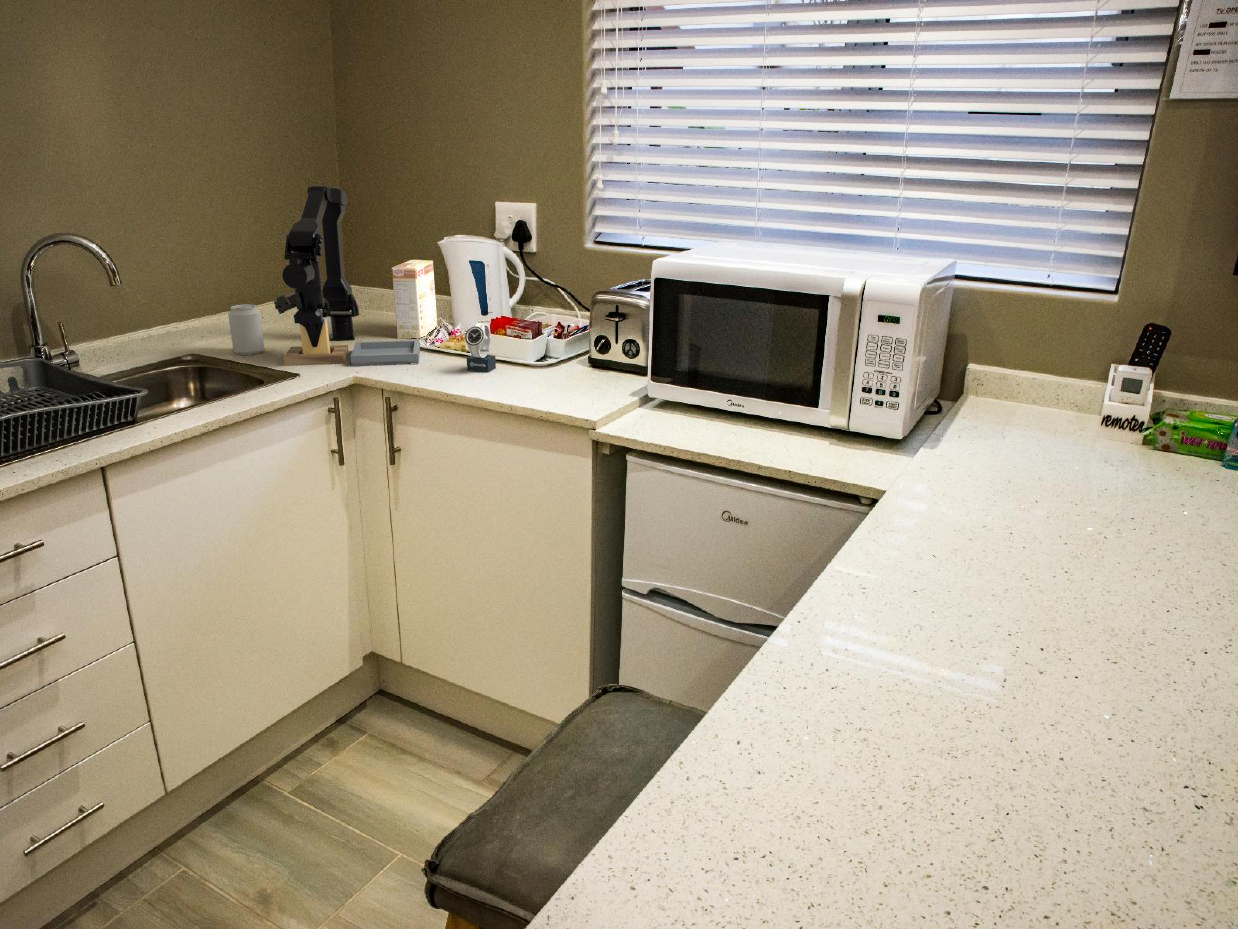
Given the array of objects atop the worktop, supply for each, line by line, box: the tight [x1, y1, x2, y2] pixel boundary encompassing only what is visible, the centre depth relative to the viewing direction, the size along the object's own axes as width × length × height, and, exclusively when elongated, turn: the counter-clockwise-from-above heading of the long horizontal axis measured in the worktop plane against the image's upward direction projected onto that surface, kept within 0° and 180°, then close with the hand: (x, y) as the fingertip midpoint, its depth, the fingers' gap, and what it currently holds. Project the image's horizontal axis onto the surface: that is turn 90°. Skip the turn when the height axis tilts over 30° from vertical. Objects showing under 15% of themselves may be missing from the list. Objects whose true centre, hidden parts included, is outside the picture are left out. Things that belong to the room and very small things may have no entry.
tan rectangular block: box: [299, 317, 330, 354], centre depth 230 cm, size 4×6×10 cm, turn 100°
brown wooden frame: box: [283, 344, 350, 367], centre depth 231 cm, size 12×14×2 cm
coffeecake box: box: [391, 259, 438, 340], centre depth 257 cm, size 15×7×20 cm, turn 172°
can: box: [228, 304, 265, 356], centre depth 236 cm, size 8×8×12 cm
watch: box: [464, 322, 497, 373], centre depth 221 cm, size 6×8×11 cm
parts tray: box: [350, 339, 421, 367], centre depth 233 cm, size 16×16×2 cm
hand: (316, 345), depth 231 cm, fingers closed on tan rectangular block, 4 cm apart
